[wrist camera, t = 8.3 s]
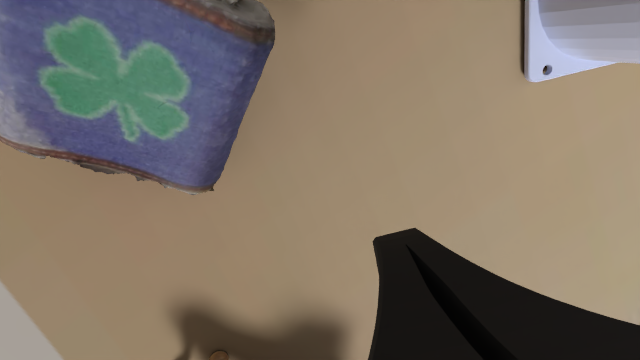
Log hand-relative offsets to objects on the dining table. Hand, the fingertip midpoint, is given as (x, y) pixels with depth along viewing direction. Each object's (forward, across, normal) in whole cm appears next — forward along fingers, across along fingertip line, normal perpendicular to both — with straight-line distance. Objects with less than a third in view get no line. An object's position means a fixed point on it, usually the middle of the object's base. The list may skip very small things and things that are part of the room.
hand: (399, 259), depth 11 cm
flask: (+8, +11, -3) cm, 14 cm away
